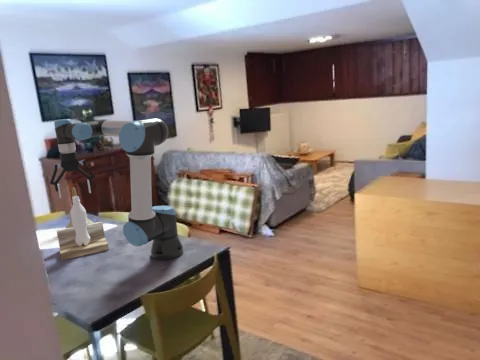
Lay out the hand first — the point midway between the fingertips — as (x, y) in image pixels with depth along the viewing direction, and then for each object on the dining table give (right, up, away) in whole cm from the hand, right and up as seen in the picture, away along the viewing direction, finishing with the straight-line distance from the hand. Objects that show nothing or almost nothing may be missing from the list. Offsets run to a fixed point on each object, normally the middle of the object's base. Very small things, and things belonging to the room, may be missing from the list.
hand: (75, 195), depth 200 cm
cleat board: (+2, -28, +6) cm, 29 cm away
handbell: (-14, -21, +41) cm, 48 cm away
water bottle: (+2, -25, +6) cm, 26 cm away
